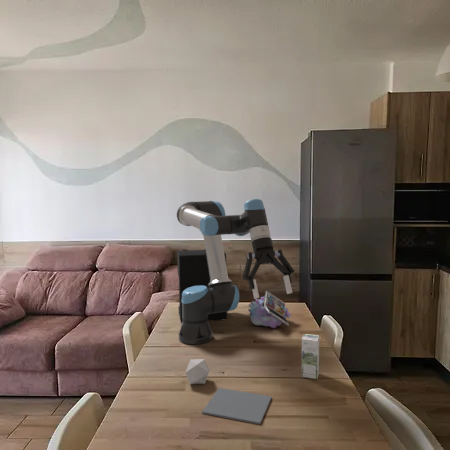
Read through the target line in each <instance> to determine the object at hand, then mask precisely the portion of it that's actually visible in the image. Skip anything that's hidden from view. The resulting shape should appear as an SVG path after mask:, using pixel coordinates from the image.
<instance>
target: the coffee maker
mask: <svg viewBox="0 0 450 450" xmlns="http://www.w3.org/2000/svg"><path fill="white" fill-rule="evenodd" d="M176 256H177V259H176V260H177V261H176V262H177V276H178V296H179V297H178V302H179V303H178V305H179V306H178V315H179V321H181V322H182V301H181V300H182V293H183V291H184V290H185V289H187V288H189V287H192V286H200V285H202V286H206V287H207V288H208V284H209V283H210V275H209V269H208V262H207V256H206V249H205V248H204V249H182V250H177V251H176ZM224 256H225V262H226V263H227V254H226V252H225V251H224ZM222 319H227V320H228V312H220V313H214V314H208V320H214V321H223V320H222ZM181 322H180V323H181Z"/></svg>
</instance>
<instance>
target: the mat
mask: <svg viewBox="0 0 450 450" xmlns="http://www.w3.org/2000/svg"><path fill="white" fill-rule="evenodd" d="M271 400H272V396H271V395H266V394H265V395H264V394H259V393H253V392H248V391H240V390H236V389H229V388H224V387H218V389H217V390H216V391H215V393H214V395H213V396H212V398H210V400H209V401H208V403H207V404H206V406H205V407H204V409H203V410H202V412H201V413H202V415H209V416H214V417H218V418H224V419H228V420H234V421H240V422H243V423H249V424H250V423H251V424H255V425H261V424H262V422H263V419H264V417H265V414H266V412H267V409H268V407H269V405H270V402H271Z"/></svg>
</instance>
